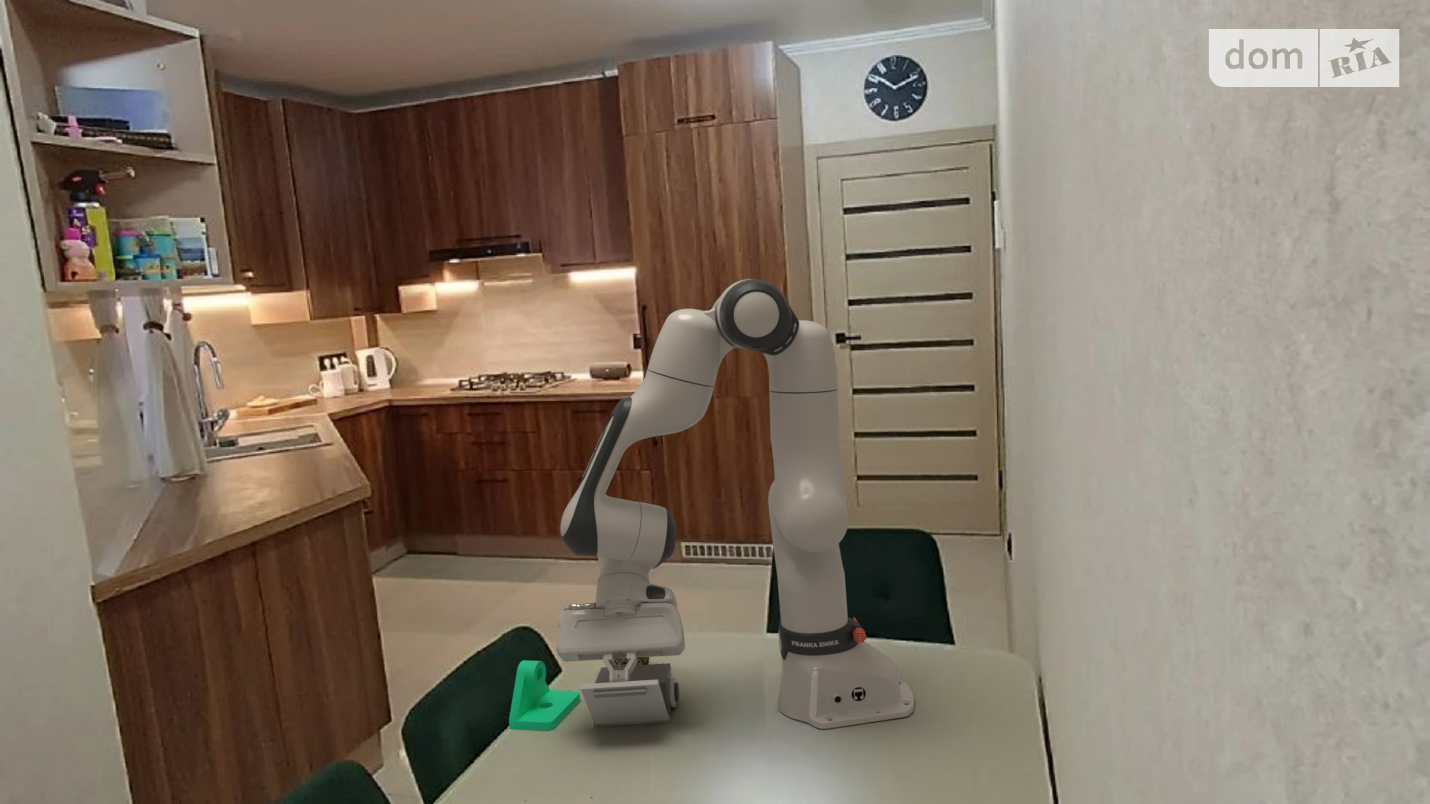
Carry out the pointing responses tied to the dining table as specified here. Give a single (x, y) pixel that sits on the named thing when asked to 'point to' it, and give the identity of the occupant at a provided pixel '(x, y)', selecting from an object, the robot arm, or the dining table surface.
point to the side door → (625, 702)
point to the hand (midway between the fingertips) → (619, 683)
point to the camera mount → (538, 700)
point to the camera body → (651, 673)
